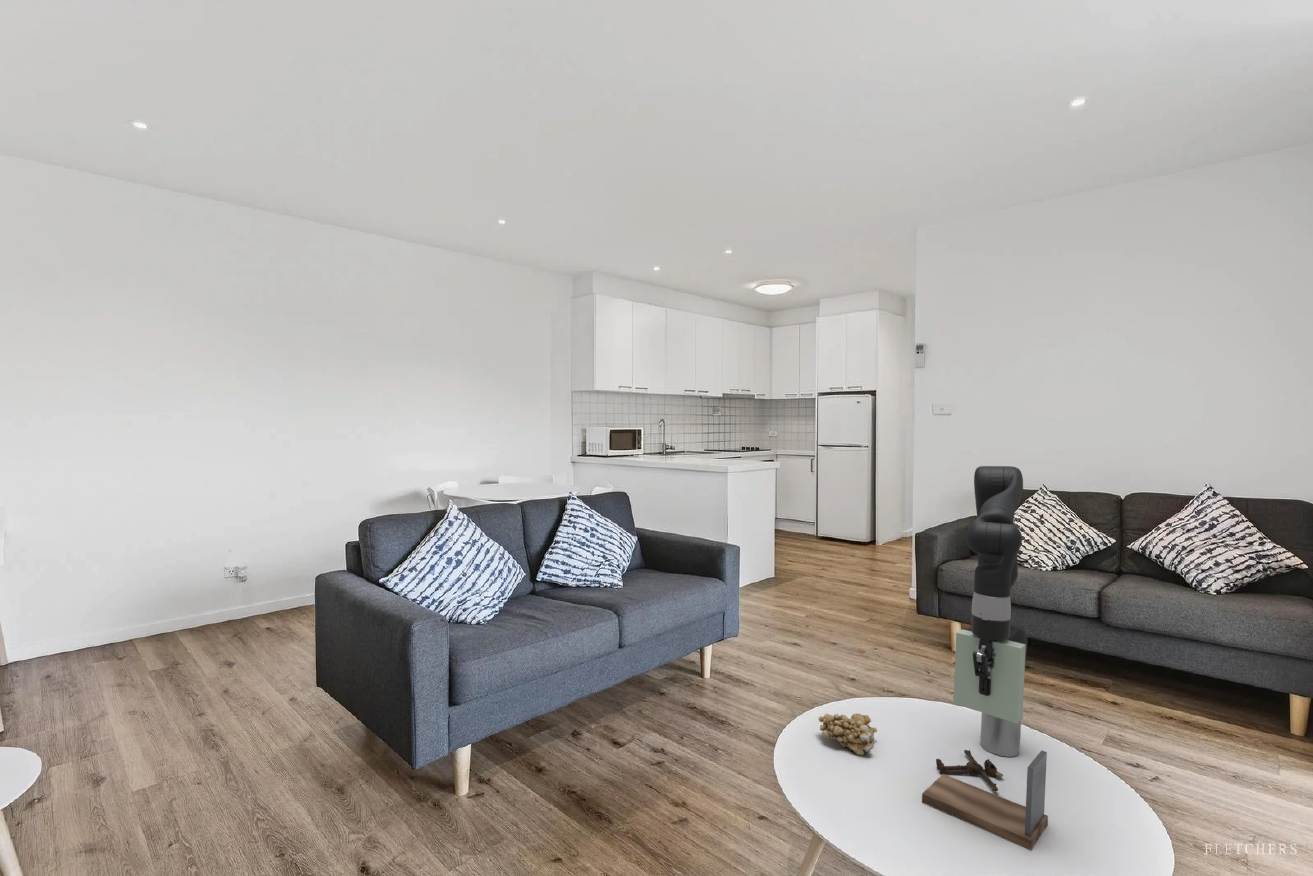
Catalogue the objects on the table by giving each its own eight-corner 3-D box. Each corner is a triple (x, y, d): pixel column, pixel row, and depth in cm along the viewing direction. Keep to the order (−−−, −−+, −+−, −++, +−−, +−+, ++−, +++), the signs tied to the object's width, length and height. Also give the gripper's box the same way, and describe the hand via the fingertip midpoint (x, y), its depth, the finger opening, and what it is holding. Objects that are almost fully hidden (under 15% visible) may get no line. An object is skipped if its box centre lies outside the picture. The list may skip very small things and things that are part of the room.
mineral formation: (872, 761, 161) (812, 744, 167) (875, 746, 174) (819, 730, 180) (876, 728, 162) (816, 712, 168) (879, 716, 174) (823, 701, 180)
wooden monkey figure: (925, 742, 167) (983, 740, 165) (926, 758, 167) (984, 757, 166) (951, 781, 149) (1016, 779, 148) (952, 799, 149) (1018, 798, 148)
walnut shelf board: (942, 782, 153) (943, 773, 153) (1047, 825, 137) (1047, 815, 137) (921, 802, 144) (922, 793, 144) (1031, 850, 129) (1031, 840, 129)
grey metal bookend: (1038, 814, 138) (1041, 750, 137) (1044, 816, 137) (1046, 752, 137) (1024, 835, 131) (1027, 767, 130) (1030, 837, 130) (1033, 769, 130)
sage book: (959, 698, 146) (962, 629, 146) (1022, 718, 137) (1025, 644, 137) (953, 703, 144) (956, 632, 143) (1017, 723, 135) (1020, 648, 134)
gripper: (983, 604, 147) (981, 678, 148) (960, 616, 137) (957, 695, 138) (1020, 611, 142) (1016, 688, 143) (998, 625, 132) (995, 707, 133)
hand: (987, 691), depth 140 cm, fingers closed on sage book, 3 cm apart
